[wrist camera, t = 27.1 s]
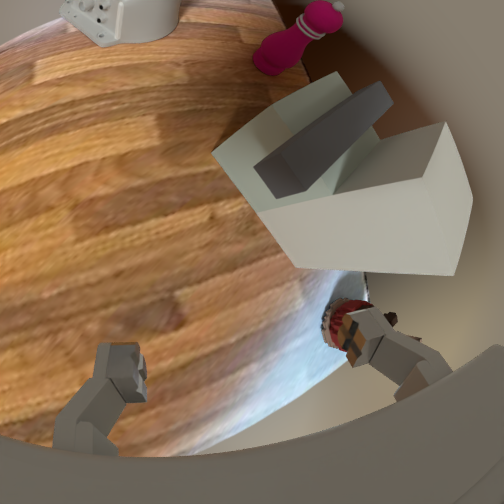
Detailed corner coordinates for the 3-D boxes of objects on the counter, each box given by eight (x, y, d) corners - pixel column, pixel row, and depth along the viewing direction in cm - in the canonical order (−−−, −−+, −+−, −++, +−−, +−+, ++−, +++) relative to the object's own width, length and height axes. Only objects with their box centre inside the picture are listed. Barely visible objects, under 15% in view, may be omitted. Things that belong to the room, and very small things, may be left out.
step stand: (295, 267, 45) (453, 275, 22) (210, 152, 38) (351, 52, 15) (339, 215, 50) (473, 198, 27) (271, 112, 43) (399, 38, 20)
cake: (350, 288, 51) (433, 296, 36) (358, 328, 53) (435, 344, 37) (311, 315, 46) (401, 336, 31) (323, 357, 48) (404, 386, 32)
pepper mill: (262, 43, 42) (332, -16, 25) (289, 68, 45) (364, 16, 28) (242, 57, 40) (315, -11, 23) (271, 84, 43) (353, 26, 25)
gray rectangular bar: (276, 199, 24) (305, 191, 21) (252, 166, 23) (280, 153, 20) (371, 112, 32) (393, 103, 29) (357, 90, 31) (380, 80, 28)
